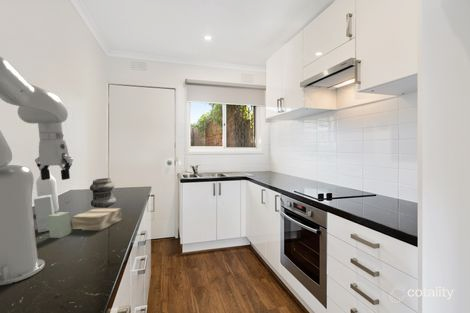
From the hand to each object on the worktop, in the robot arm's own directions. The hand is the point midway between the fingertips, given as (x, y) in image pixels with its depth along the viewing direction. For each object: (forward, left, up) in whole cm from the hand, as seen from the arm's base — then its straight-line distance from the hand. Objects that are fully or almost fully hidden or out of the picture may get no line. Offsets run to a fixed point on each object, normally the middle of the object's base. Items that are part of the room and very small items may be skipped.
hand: (55, 179), depth 98 cm
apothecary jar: (+32, +6, -23) cm, 40 cm away
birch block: (+13, -7, -24) cm, 28 cm away
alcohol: (+29, +39, -23) cm, 54 cm away
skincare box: (+6, +14, -23) cm, 28 cm away
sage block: (0, 0, -23) cm, 23 cm away
